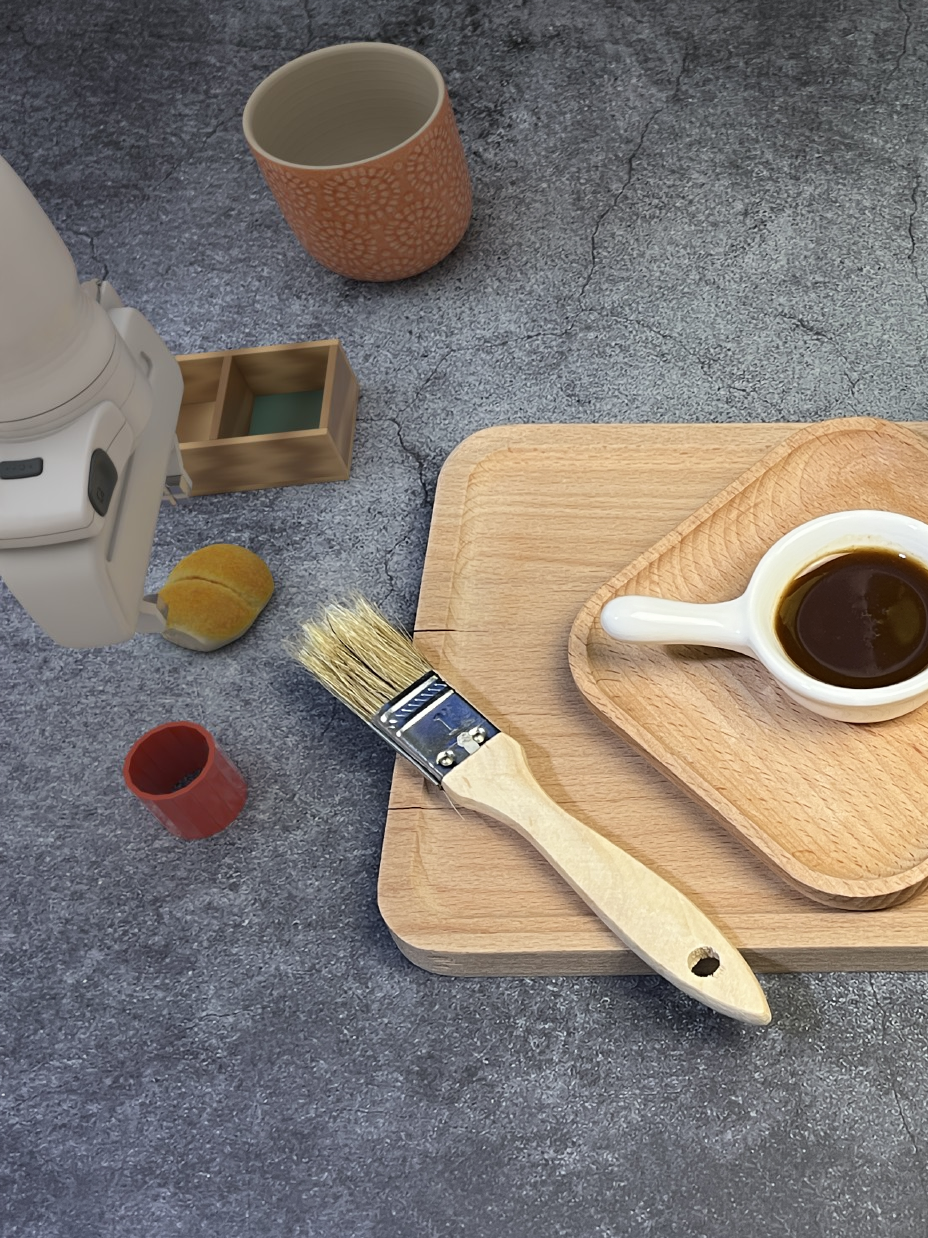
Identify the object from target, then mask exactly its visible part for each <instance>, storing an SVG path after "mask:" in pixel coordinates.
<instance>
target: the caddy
mask: <svg viewBox="0 0 928 1238" xmlns="http://www.w3.org/2000/svg"><path fill="white" fill-rule="evenodd" d="M173 356H174V357H175V359H176V360H177V362H178V364H179V366H180V369H181V373H182V378H183V383H184V391H183V396H182V401H181V406H180V411H179V416H178V421H177V426H176V431H175V433H176V435H177V439H178V443H179V448H180V452H181V457H182V461H183V468H184V469H185V471H186V473H187V474H188V476H189V478H190V479H191V481H192V490H191V493H190V497H191V498H192V497H198V496H199V497H200V496H209V495H218V494H219V495H220V494H227V493H236V492H246V491H255V490H264V489H275V488H284V487H292V486H293V487H294V486H302V485H303V486H304V485H312V484H321V483H322V484H323V483H330V482H331V483H332V482H340V481H349V480H350V476H351V467H352V459H353V452H354V451H353V450H354V441H355V434H356V432H355V431H356V424H357V415H358V405H359V398H360V389H361V388H360V387H361V384H360V382H359V381H358V378H357V376H356V373H355V372H354V369H353V367H352V365H351V363H350V361H349V358H348V356H347V354H346V352H345V350H344V347H343V344H342V343H341V341H340V338H330V339H320V340H312V341H310V340H309V341H304V342H303V341H301V342H293V343H281V344H272V345H263V346H254V347H253V346H252V347H243V348H234V349H226V350H225V349H224V350H216V351H206V352H196V353H187V354H178V355H177V354H176V355H173Z"/></svg>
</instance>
